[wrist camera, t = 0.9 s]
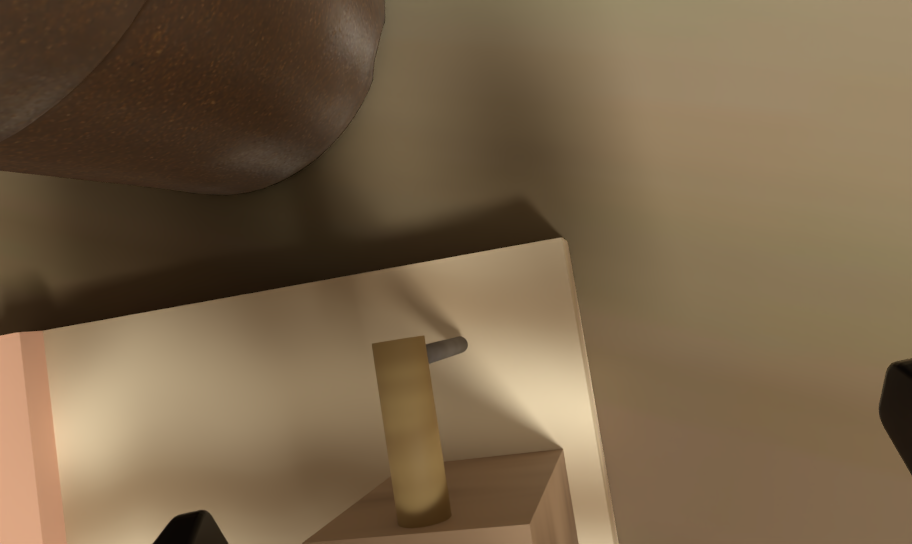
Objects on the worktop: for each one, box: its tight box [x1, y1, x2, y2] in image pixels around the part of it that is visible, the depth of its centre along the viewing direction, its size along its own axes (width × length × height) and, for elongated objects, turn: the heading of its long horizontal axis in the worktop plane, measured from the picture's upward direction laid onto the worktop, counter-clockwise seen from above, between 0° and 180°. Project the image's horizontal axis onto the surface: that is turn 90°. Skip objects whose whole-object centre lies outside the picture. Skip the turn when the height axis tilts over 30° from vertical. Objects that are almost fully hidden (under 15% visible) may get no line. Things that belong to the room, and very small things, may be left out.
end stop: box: [0, 331, 67, 544], centre depth 25 cm, size 13×2×1 cm, turn 9°
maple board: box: [43, 237, 619, 544], centre depth 24 cm, size 14×22×2 cm, turn 99°
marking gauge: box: [302, 335, 579, 544], centre depth 18 cm, size 10×5×7 cm, turn 9°
